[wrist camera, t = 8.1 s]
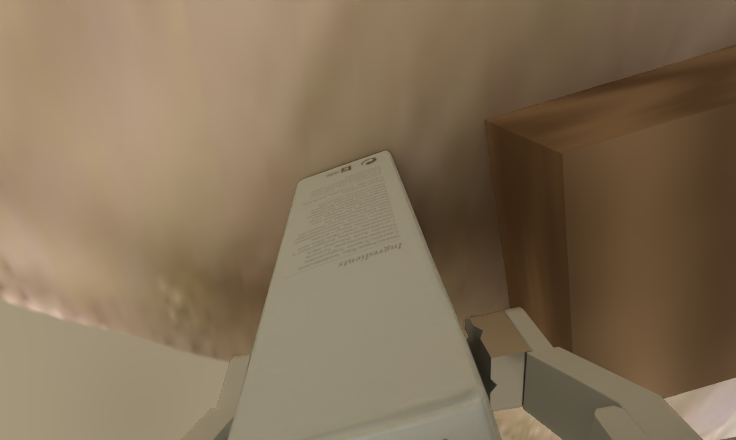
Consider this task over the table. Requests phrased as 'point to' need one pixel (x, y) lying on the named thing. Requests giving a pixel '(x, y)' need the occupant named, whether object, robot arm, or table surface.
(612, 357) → the walnut block
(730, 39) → the table surface
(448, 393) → the skincare box
